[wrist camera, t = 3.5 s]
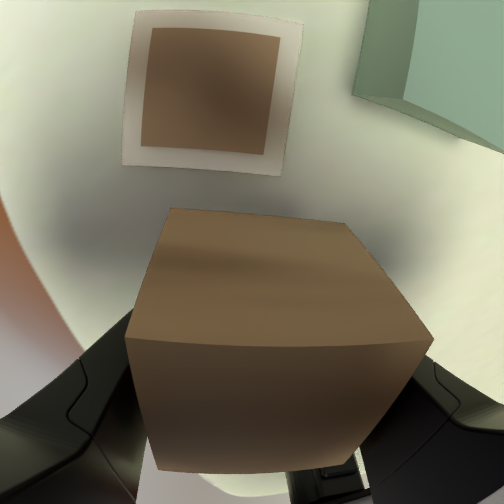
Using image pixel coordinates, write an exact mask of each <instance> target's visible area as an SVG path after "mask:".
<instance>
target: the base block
mask: <svg viewBox="0 0 504 504" xmlns="http://www.w3.org/2000/svg"><path fill="white" fill-rule="evenodd" d="M352 95H355V96H358V97H361V98H364V99H367V100H370V101H373V102H375V103H378V104H381V105H384V106H387V107H389V108H392V109H395V110H397V111H400V112H402V113H405V114H407V115H410V116H412V117H415V118H417V119H420V120H422V121H424V122H427V123H429V124H431V125H433V126H436V127H438V128H440V129H442V130H444V131H447V132H449V133H451V134H453V135H455V136H457V137H459V138H461V139H464V140H467V141H470V142H473V143H476V144H479V145H482V146H484V147H487V148H490V149H492V150H495V151H497V152H500V153H502V154H504V0H370V3H369V9H368V15H367V21H366V26H365V32H364V37H363V43H362V48H361V53H360V58H359V63H358V68H357V73H356V78H355V83H354V87H353V92H352Z"/></svg>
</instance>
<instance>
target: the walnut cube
mask: <svg viewBox="0 0 504 504" xmlns="http://www.w3.org/2000/svg"><path fill="white" fill-rule="evenodd" d="M433 340H434V338H433V337H432V335H431V334H430V332H429V331H428V329H427V328H426V327H425V325H424V324H423V322H422V321H421V320H420V318H419V317H418V315H417V314H416V313H415V311H414V310H413V309H412V307H411V306H410V305H409V303H408V302H407V300H406V299H405V298H404V296H403V295H402V294H401V293H400V291H399V290H398V289H397V287H396V286H395V285H394V283H393V282H392V281H391V279H390V278H389V277H388V276H387V274H386V273H385V272H384V271H383V269H382V268H381V267H380V266H379V264H378V263H377V262H376V261H375V259H374V258H373V257H372V256H371V254H370V253H369V252H368V251H367V249H366V248H365V247H364V246H363V245H362V243H361V242H360V241H359V240H358V239H357V237H356V236H355V235H354V234H353V233H352V231H351V230H350V229H349V228H348V227H347V226H346V224H345V223H337V222H328V221H319V220H309V219H299V218H289V217H279V216H268V215H257V214H246V213H234V212H222V211H209V210H195V209H181V208H171V209H170V212H169V214H168V217H167V219H166V222H165V224H164V227H163V229H162V232H161V234H160V237H159V239H158V242H157V245H156V247H155V250H154V252H153V255H152V258H151V260H150V263H149V266H148V269H147V271H146V274H145V277H144V280H143V283H142V285H141V288H140V291H139V294H138V297H137V300H136V303H135V306H134V309H133V312H132V315H131V318H130V321H129V324H128V328H127V331H126V334H125V342H126V348H127V353H128V358H129V363H130V368H131V372H132V377H133V382H134V386H135V390H136V394H137V399H138V403H139V407H140V411H141V414H142V418H143V422H144V425H145V429H146V433H147V436H148V439H149V443H150V446H151V449H152V452H153V456H154V459H155V462H156V465H157V468H158V470H163V471H173V472H186V473H205V474H255V473H274V472H287V471H297V470H307V469H315V468H322V467H329V466H335V465H341V464H344V463H345V462H346V461H347V460H348V458H349V457H350V456H351V455H352V454H353V453H354V452H355V450H356V449H357V448H358V447H359V446H360V445H361V443H362V442H363V441H364V440H365V439H366V437H367V436H368V435H369V434H370V433H371V431H372V430H373V429H374V428H375V426H376V425H377V424H378V422H379V421H380V420H381V419H382V417H383V416H384V415H385V413H386V412H387V411H388V409H389V408H390V407H391V405H392V404H393V402H394V401H395V400H396V398H397V397H398V395H399V394H400V392H401V391H402V390H403V388H404V387H405V385H406V384H407V382H408V381H409V379H410V378H411V376H412V375H413V373H414V372H415V370H416V368H417V367H418V365H419V364H420V362H421V360H422V359H423V357H424V356H425V354H426V352H427V351H428V349H429V347H430V346H431V344H432V342H433Z"/></svg>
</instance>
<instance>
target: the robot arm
mask: <svg viewBox="0 0 504 504" xmlns="http://www.w3.org/2000/svg"><path fill="white" fill-rule="evenodd" d="M133 309H134V308H133ZM133 309H132V310H131V311H130V312H128V313H127V314H126V315H125V316H124V317H123V318H122V319H121V320H119V321H118V322H117V323H116V324H115V325H114V326H113V327H112V328H111V329H109V330H108V331H107V332H106V333H105V334H104V335H103V336H102V337H101V338H100V339H98V340H97V341H96V342H95V343H94V344H93V345H92V346H91V347H90V348H89V349H88V350H86V351H85V352H84V353H83V354H82V355H81V356H80V357H79V359H80V360H79V359H77V360H75V361H74V363H72V364H71V365H70V366H69V367H68V368H67V369H66V370H64V371H63V372H62V373H61V374H60V375H59V376H58V377H57V378H55V379H54V380H53V381H52V382H50V383H49V384H48V385H46V386H45V387H44V388H43V389H41V390H40V391H39V392H37V393H36V394H35V395H33V396H32V397H31V398H29V399H28V400H27V401H25V402H24V403H23V404H21V405H20V406H19V407H17V408H16V409H15V410H13V411H12V412H11V413H9V414H8V415H6V416H5V417H3V418H1V419H0V504H136V499H137V492H138V486H139V480H140V474H141V468H142V462H143V457H144V451H145V446H146V441H147V433H146V429H145V425H144V422H143V418H142V414H141V411H140V407H139V403H138V399H137V394H136V390H135V386H134V382H133V377H132V372H131V368H130V363H129V358H128V353H127V348H126V342H125V334H126V331H127V328H128V324H129V321H130V318H131V315H132V312H133ZM359 447H360V451H361V454H362V458H363V462H364V466H365V470H366V474H367V478H368V482H369V486H370V488H367V489H365V488H364V485H363V481H362V478H361V475H360V472H359V467H358V464H357V460H356V457H355V454H354V453H353V454H352V455H351V456H350V457H349V458H348V460H347V461H346V462H345V463H344V464H341V465H335V466H329V467H322V468H315V469H307V470H297V471H287V472H285V473H286V479H287V485H288V490H289V496H290V502H291V504H372V503H373V504H504V405H503V404H501V403H498V402H496V401H494V400H493V399H491V398H490V397H488V396H486V395H485V394H483V393H481V392H480V391H478V390H477V389H475V388H473V387H472V386H470V385H469V384H467V383H465V382H464V381H462V380H461V379H459V378H458V377H456V376H455V375H453V374H452V373H450V372H449V371H447V370H446V369H444V368H443V367H442V366H440V365H439V364H438V363H436V362H433V360H432V359H431V358H429V357H428V356H426V355H425V356H424V357H423V359H422V360H421V362H420V364H419V365H418V367H417V368H416V370H415V372H414V373H413V375H412V376H411V378H410V379H409V381H408V382H407V384H406V385H405V387H404V388H403V390H402V391H401V392H400V394H399V395H398V397H397V398H396V400H395V401H394V402H393V404H392V405H391V407H390V408H389V409H388V411H387V412H386V413H385V415H384V416H383V417H382V419H381V420H380V421H379V422H378V424H377V425H376V426H375V428H374V429H373V430H372V431H371V433H370V434H369V435H368V436H367V437H366V439H365V440H364V441H363V442H362V443H361V445H360V446H359Z"/></svg>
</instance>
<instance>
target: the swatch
mask: <svg viewBox="0 0 504 504" xmlns="http://www.w3.org/2000/svg"><path fill="white" fill-rule="evenodd" d="M303 27H304V24H302V23H297V22H292V21H287V20H281V19H276V18H269V17H263V16H256V15H248V14H240V13H230V12H218V11H201V10H146V11H136V14H135V20H134V26H133V32H132V39H131V46H130V53H129V61H128V70H127V79H126V90H125V102H124V117H123V137H122V165H130V166H156V167H176V168H192V169H205V170H218V171H230V172H240V173H250V174H260V175H269V176H278V177H281V171H282V165H283V158H284V152H285V146H286V140H287V133H288V127H289V121H290V114H291V108H292V101H293V95H294V88H295V82H296V75H297V68H298V61H299V55H300V48H301V41H302V34H303Z"/></svg>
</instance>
